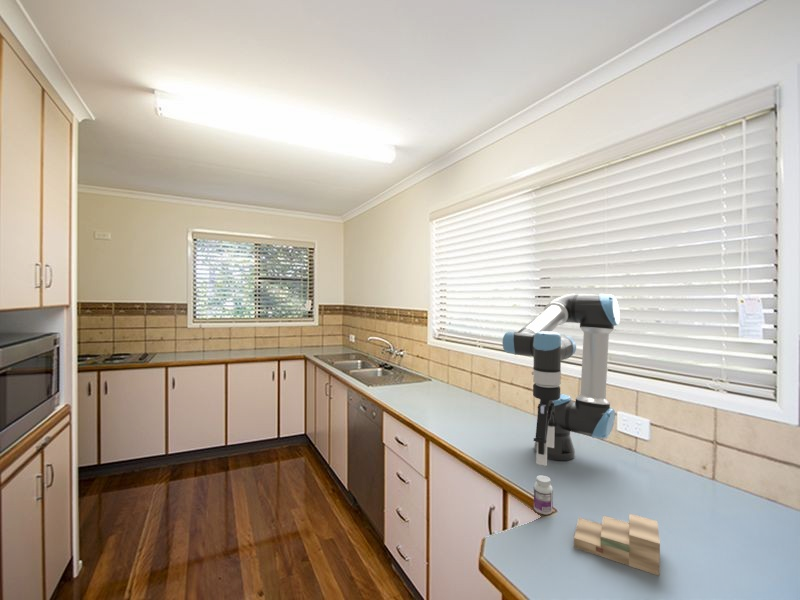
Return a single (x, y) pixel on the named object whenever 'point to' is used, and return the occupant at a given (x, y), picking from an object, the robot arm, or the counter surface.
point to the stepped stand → (622, 541)
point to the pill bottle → (543, 495)
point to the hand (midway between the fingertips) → (545, 455)
